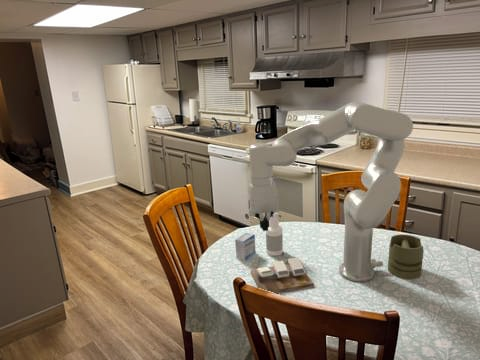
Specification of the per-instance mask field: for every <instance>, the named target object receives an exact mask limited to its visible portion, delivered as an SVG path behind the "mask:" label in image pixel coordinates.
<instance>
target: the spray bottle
mask: <svg viewBox="0 0 480 360" xmlns="http://www.w3.org/2000/svg"><path fill="white" fill-rule="evenodd" d="M278 213H279V212H277V213H275V214H273V215H272V216H271V217H270V220H269V227H268V231H265V244H266V245H265V246H266V247H265V252H266V254H267V255H268V256H272V257H278V256H280V255H282V254H283V245H284V244H283V227H282V226H281V225H280V221H279V215H278Z"/></svg>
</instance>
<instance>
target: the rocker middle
mask: <svg viewBox="0 0 480 360" xmlns="http://www.w3.org/2000/svg"><path fill="white" fill-rule="evenodd" d="M285 264H286V263H285V262H284V260H278V261H273V262H272V264H271V265H272V266H273V267H274V269H275V272H276V274H277V276H278V278H281V277H287V276H289V272H288V270H287V268H286V266H285Z"/></svg>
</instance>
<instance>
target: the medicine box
mask: <svg viewBox="0 0 480 360" xmlns="http://www.w3.org/2000/svg"><path fill="white" fill-rule="evenodd" d="M234 241H235V243H234V244H235V256H236V257H235V258H236V259H239V260H240V261H241V260H242V261H244V262H245V261H247V260H248V259H250V258H251V257H252V256H253V255H254V254H256V253H257V252H256V250H257V249H256V235H255V234H253V233H250V232H245V233H243V234H241V236H239V237H237V238H236V239H235V240H234Z"/></svg>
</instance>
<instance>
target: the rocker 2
mask: <svg viewBox="0 0 480 360" xmlns="http://www.w3.org/2000/svg"><path fill="white" fill-rule="evenodd" d="M287 262H288V264H289V265H290V267H291V270H292V272H293V275H294V276H298V275H304V274H305V272H306V271H305V269H304V267H303V264H302V262H301V260H300V258H299V256H298V257H290V258H288V259H287Z"/></svg>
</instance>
